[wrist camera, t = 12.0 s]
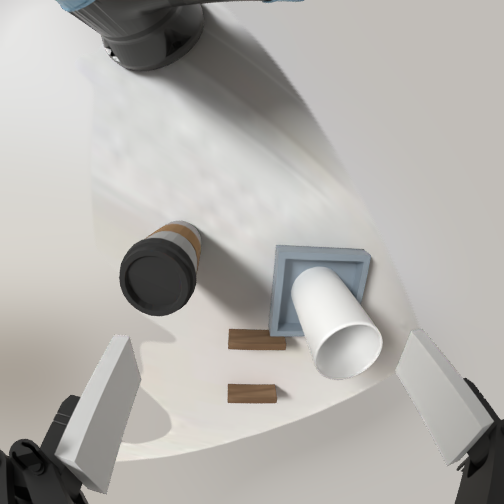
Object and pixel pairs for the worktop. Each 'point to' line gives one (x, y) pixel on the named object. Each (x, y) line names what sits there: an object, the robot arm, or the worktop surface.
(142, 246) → the coffee cup
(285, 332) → the tray
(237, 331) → the clip rails
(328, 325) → the cup
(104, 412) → the robot arm
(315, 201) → the worktop surface
